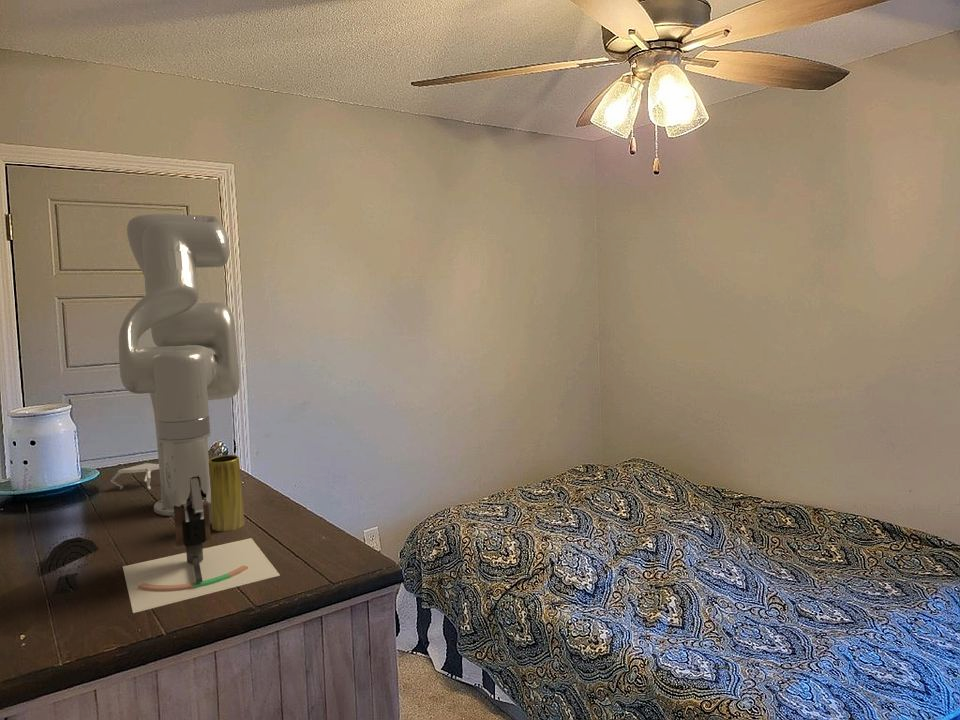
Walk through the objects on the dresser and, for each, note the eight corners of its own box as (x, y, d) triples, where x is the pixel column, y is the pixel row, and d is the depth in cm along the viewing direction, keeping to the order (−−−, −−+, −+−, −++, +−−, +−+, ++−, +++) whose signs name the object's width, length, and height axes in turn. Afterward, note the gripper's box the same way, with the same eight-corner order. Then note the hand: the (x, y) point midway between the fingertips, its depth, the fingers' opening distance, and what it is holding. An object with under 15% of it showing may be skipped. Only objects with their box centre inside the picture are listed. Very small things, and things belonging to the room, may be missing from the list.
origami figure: (164, 478, 158) (162, 458, 158) (174, 485, 152) (172, 465, 151) (108, 488, 151) (106, 468, 150) (116, 497, 144) (114, 475, 144)
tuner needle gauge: (177, 560, 105) (173, 505, 104) (211, 554, 107) (207, 500, 106) (181, 588, 95) (176, 528, 94) (217, 581, 97) (213, 521, 96)
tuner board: (123, 575, 104) (122, 564, 104) (251, 546, 115) (251, 535, 115) (134, 623, 89) (132, 610, 89) (280, 584, 100) (280, 572, 99)
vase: (209, 541, 117) (203, 464, 116) (213, 529, 123) (208, 455, 122) (245, 537, 119) (239, 461, 117) (247, 525, 125) (242, 452, 123)
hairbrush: (27, 606, 90) (44, 538, 111) (30, 631, 90) (46, 558, 112) (97, 591, 93) (100, 528, 115) (99, 615, 94) (102, 548, 116)
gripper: (148, 424, 107) (157, 532, 109) (169, 442, 94) (178, 564, 96) (196, 417, 111) (204, 521, 113) (222, 434, 98) (231, 550, 100)
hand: (192, 540), depth 105 cm, fingers closed on tuner needle gauge, 2 cm apart
